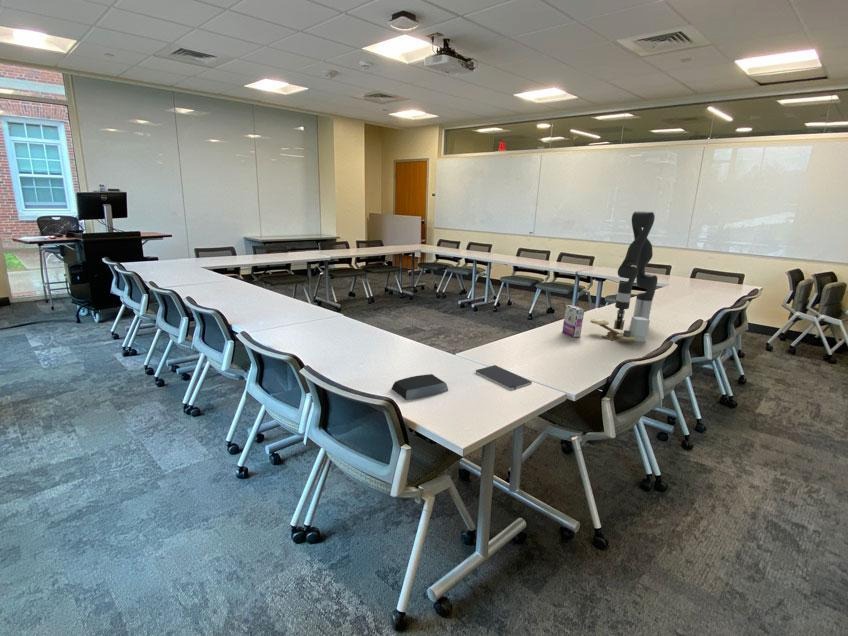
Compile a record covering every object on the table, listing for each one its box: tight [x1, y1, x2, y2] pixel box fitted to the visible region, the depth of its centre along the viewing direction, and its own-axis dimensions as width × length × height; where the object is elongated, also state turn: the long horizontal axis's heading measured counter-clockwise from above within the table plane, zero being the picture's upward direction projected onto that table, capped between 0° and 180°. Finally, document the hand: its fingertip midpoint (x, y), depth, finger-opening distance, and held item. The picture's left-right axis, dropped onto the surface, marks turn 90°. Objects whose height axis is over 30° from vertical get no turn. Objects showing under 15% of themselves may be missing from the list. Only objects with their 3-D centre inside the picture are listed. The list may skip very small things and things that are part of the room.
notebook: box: [475, 364, 532, 391], centre depth 193 cm, size 13×2×21 cm
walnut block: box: [613, 318, 625, 331], centre depth 267 cm, size 5×5×5 cm
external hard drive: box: [391, 373, 449, 401], centre depth 177 cm, size 13×19×4 cm
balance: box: [590, 318, 636, 341], centre depth 257 cm, size 28×10×7 cm, turn 36°
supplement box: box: [629, 316, 650, 343], centre depth 256 cm, size 7×7×13 cm
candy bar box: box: [561, 304, 585, 338], centre depth 258 cm, size 11×5×16 cm, turn 17°
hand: (618, 327), depth 268 cm, fingers closed on walnut block, 5 cm apart
